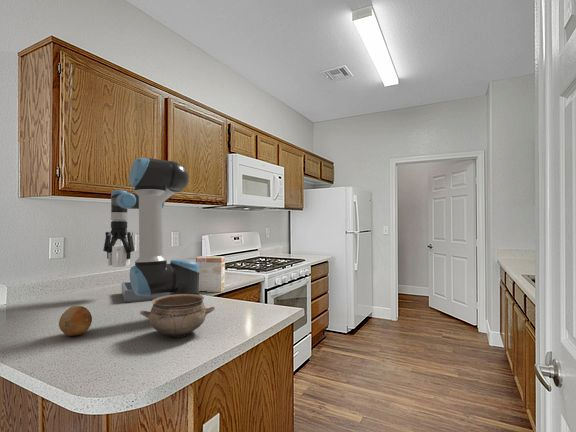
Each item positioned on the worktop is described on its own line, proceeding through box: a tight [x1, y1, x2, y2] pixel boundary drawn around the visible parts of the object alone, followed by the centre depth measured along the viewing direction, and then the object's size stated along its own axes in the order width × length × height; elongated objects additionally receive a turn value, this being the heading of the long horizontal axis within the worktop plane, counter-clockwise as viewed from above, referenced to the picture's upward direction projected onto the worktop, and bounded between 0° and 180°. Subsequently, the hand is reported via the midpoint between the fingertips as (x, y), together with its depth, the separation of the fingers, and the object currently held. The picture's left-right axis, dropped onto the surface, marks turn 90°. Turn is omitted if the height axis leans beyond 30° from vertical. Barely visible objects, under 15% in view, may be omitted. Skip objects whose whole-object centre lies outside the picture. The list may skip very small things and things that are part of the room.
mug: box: [111, 244, 131, 268], centre depth 172 cm, size 12×8×10 cm
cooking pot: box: [139, 294, 215, 338], centre depth 119 cm, size 25×19×12 cm
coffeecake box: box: [195, 255, 226, 293], centre depth 193 cm, size 15×7×20 cm, turn 84°
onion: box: [58, 305, 93, 337], centre depth 117 cm, size 10×10×10 cm
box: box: [121, 281, 170, 304], centre depth 180 cm, size 24×24×6 cm
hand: (118, 265), depth 172 cm, fingers closed on mug, 8 cm apart
